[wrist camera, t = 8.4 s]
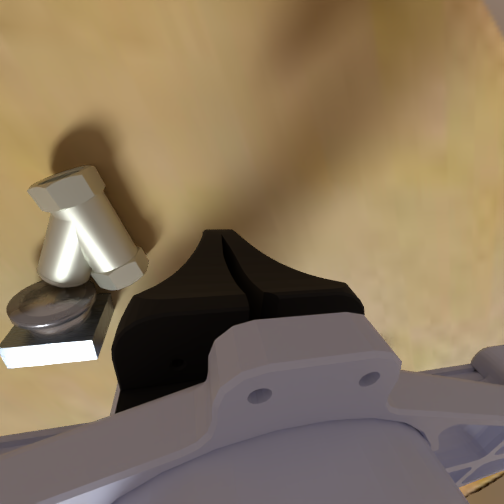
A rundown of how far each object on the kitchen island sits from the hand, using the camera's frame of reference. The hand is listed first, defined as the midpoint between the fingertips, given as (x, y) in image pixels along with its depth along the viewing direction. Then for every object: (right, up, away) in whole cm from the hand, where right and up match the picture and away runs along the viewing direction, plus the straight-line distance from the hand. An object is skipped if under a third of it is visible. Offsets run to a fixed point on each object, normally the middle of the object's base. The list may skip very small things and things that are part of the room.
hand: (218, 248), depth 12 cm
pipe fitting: (-11, +2, +8) cm, 14 cm away
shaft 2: (-13, -4, +10) cm, 17 cm away
